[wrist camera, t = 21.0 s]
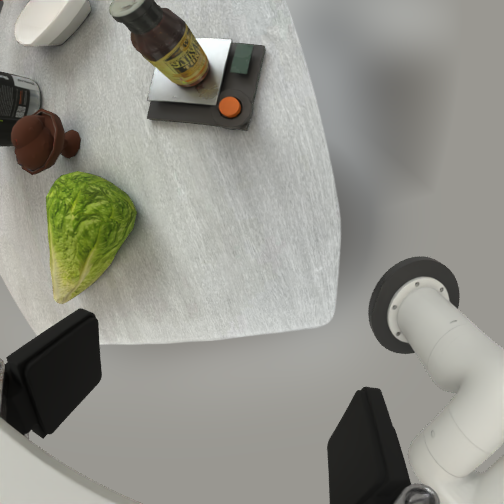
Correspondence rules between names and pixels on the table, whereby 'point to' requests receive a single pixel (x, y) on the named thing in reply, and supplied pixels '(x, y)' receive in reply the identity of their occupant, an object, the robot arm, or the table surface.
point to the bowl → (50, 21)
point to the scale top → (212, 82)
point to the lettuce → (84, 230)
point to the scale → (231, 87)
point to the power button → (230, 107)
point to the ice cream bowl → (42, 141)
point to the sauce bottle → (163, 40)
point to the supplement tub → (15, 103)
